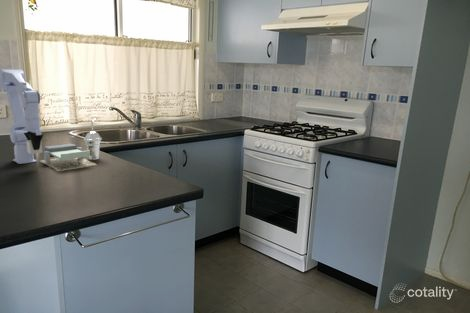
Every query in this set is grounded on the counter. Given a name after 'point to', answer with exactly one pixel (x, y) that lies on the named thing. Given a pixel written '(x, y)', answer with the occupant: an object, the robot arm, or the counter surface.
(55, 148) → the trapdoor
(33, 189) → the counter surface
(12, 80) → the robot arm
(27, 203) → the counter surface
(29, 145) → the white rectangular block
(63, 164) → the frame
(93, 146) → the cup with straw
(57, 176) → the counter surface
